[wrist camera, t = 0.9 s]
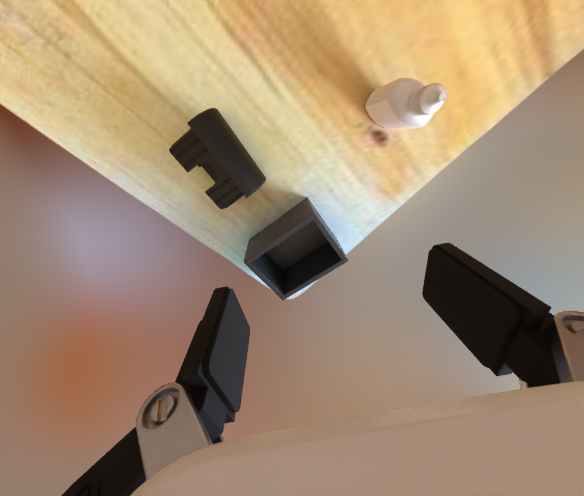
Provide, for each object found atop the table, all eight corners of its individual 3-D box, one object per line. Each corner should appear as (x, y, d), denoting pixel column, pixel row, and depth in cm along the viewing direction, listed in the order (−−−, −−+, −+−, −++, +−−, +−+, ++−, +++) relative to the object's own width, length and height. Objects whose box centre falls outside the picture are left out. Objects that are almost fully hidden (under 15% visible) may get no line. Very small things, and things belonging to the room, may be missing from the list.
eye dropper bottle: (373, 139, 30) (424, 141, 20) (361, 97, 28) (411, 75, 17) (402, 122, 29) (471, 115, 19) (392, 78, 27) (465, 42, 16)
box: (249, 239, 37) (243, 262, 30) (307, 197, 34) (314, 212, 27) (282, 273, 41) (282, 300, 34) (336, 238, 38) (348, 260, 31)
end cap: (267, 175, 32) (265, 184, 26) (232, 200, 33) (223, 215, 27) (222, 110, 28) (207, 103, 22) (184, 143, 29) (161, 145, 23)
